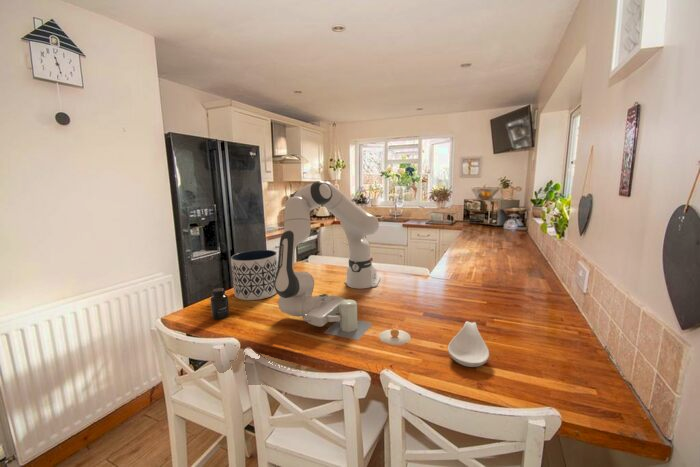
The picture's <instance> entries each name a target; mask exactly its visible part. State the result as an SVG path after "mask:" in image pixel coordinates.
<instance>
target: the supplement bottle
mask: <svg viewBox="0 0 700 467" xmlns="http://www.w3.org/2000/svg"><path fill="white" fill-rule="evenodd" d="M211 293H212V296H211V297H210V299H209V300H210V308H211V310H210V311H211V318H212V319H213V320H224V319H226V318H228V317H229V316H230V307H229V297H228V295H227V294H226V291H225V288H223V287H218V288H214V289H212V291H211Z"/></svg>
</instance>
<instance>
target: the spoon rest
mask: <svg viewBox="0 0 700 467" xmlns="http://www.w3.org/2000/svg"><path fill="white" fill-rule="evenodd" d="M447 352H448V354H449V356H450V357H451V359H453V360H454V361H455V362H456V363H458V364H459V365H462V366H464V367H469V368H477V367H480V366H483V365H484V364H486V363H487V362H488V360H489V358H490V351H489V347H488V345H487V344H486V342H485V341H484V339H483V337H482V335H481V333H480V331H479V329H478V326H477V323H476V322H474V321H473V322H470V321H469V320H468V321H465V323H464V325H463V326H462V328H461V329H460V330H459V331H458V332H457V334H455V336H454V337H453V338H452V339H451V340H450V342H449V343H448V345H447Z"/></svg>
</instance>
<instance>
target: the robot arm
mask: <svg viewBox="0 0 700 467" xmlns="http://www.w3.org/2000/svg"><path fill="white" fill-rule="evenodd" d="M321 206H323V207H324V208H325V209H326V210H327V211H328V212H330V213H331V214H332V215H333V216H334V217H335V218H336V219H338V220H339V223H340V226H341V229H343V231H344V234H345V236H346V239H347V243H348V252H349V253H348V254H349V255H348V256H349V258H348V268H346V279H345V280H344V284H345V285H346V286H348V287H349V288H352V289H359V290H360V289H368V288H376V287H378V285H379V284H380V281H381V276H379V275H377V268H376V267H374V266H373V264H372V263H373V262H372V261H374V260H373V259H374V258H373V257H372V256H371V245H370V243H369V241H368V240H367V237H366V236H370V235H374V234H376V233H377V231H378V229H379V227H380V223H379V219H378V218H377V217H376V216H375V215H373V214H371V213H369V212H368V211H366V210H365V209H364V208H362V207H361V206H359V205H358V204H356V203H355V202H353V201H352V200H351V199H350V198H348V196H346V195H345V194H344V193H343V192H342V190H340V189H339V188H338V187H336V186H335V185H334V184H332V183H331V182H329V181H324V180H323V181H322V180H320V181H319V180H318V181H314V182H313V183H309V184H307V185H305V186H303V187H301V188H300V189H298V190H296V191H294V193H292V195H291V196H290V197H289V198H288V199H287V200H286V201H285V205H284V212H283V213H284V215H283V216H284V217H283V219H284V220H283V224H284V226H283V233H282V234H281V236H280V239H279V245H278V246H279V247H278V256H277V261H278V269H277V274H276V277H275V282H274V287H275V290H276V292H277V293H276V294H277V295H278V296H279V298H278V301H277V304H278V308H279V310H280V311H281V312H282V313H284V314H286V315H288V316H289V315H290V316H293V317H302V321H304V322H307V323H308V324H309V325H312V326H315V327H318V328H319V327H324V326H325V325H326V324H328V323H335V322H336V321H337V322H339V321H340V320H341V316H340V314H339V304H340V302H341V301H343V300H347V299H346V298H345V297H342V296H338V295H329V294H328V293H322V294H319V295H314V296H312V295H313V292H314V289H315V288H314V286H315V279H314V277H313V275H312V274H310V273H309V272H308V271H295V268H294V265H295V252H296V248H297V246H298V245H299V244H301V243H304V242H305V241H307V239H308V238H309V237H310V235H311V230H312V229H311V226H312V225H311V215H310V214H311V213H310V211H312V210H316V209H318V208H319V207H321ZM338 314H339V315H338Z"/></svg>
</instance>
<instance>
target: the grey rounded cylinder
mask: <svg viewBox="0 0 700 467" xmlns="http://www.w3.org/2000/svg"><path fill="white" fill-rule="evenodd" d="M338 314H339V316H341V320H340V328H341V330H342V331H346V332H351V331H355V330H356V329H357V328H358V321H357V320H358V303H357V301H356V300H354V299H346V300H343V301H341V302H340V304H339V313H338Z"/></svg>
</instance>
